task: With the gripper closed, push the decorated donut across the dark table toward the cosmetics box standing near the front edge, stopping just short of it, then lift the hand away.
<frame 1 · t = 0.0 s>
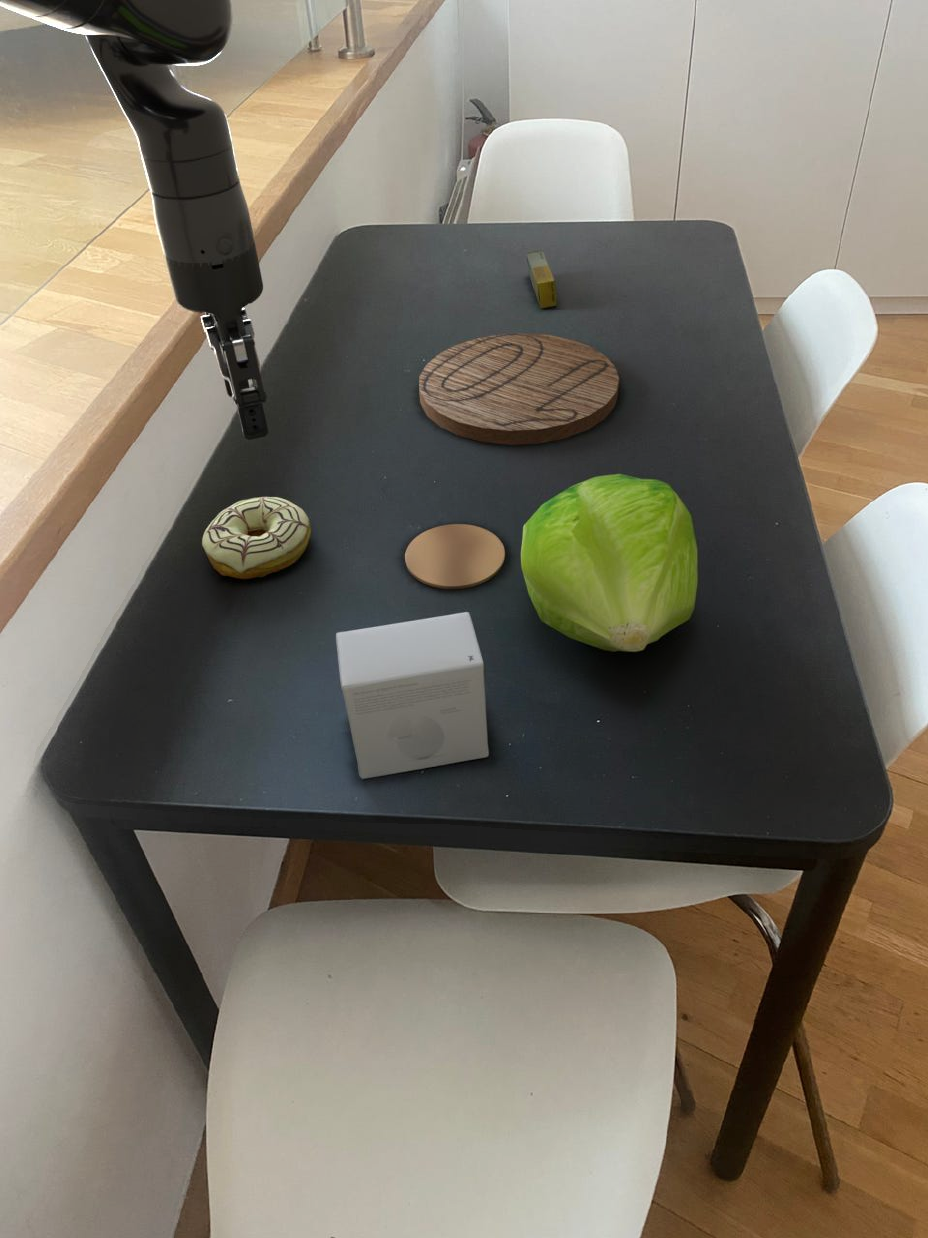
hand: (247, 414, 87), 14 cm above the table, tool pointing down, fingers open, 8 cm apart
decorated donut: (260, 552, 94), on the table
cosmetics box: (419, 740, 75), on the table
medication box: (541, 294, 138), on the table
cork coaster: (455, 556, 92), on the table
trivet: (518, 393, 116), on the table
lettuce: (604, 627, 84), on the table
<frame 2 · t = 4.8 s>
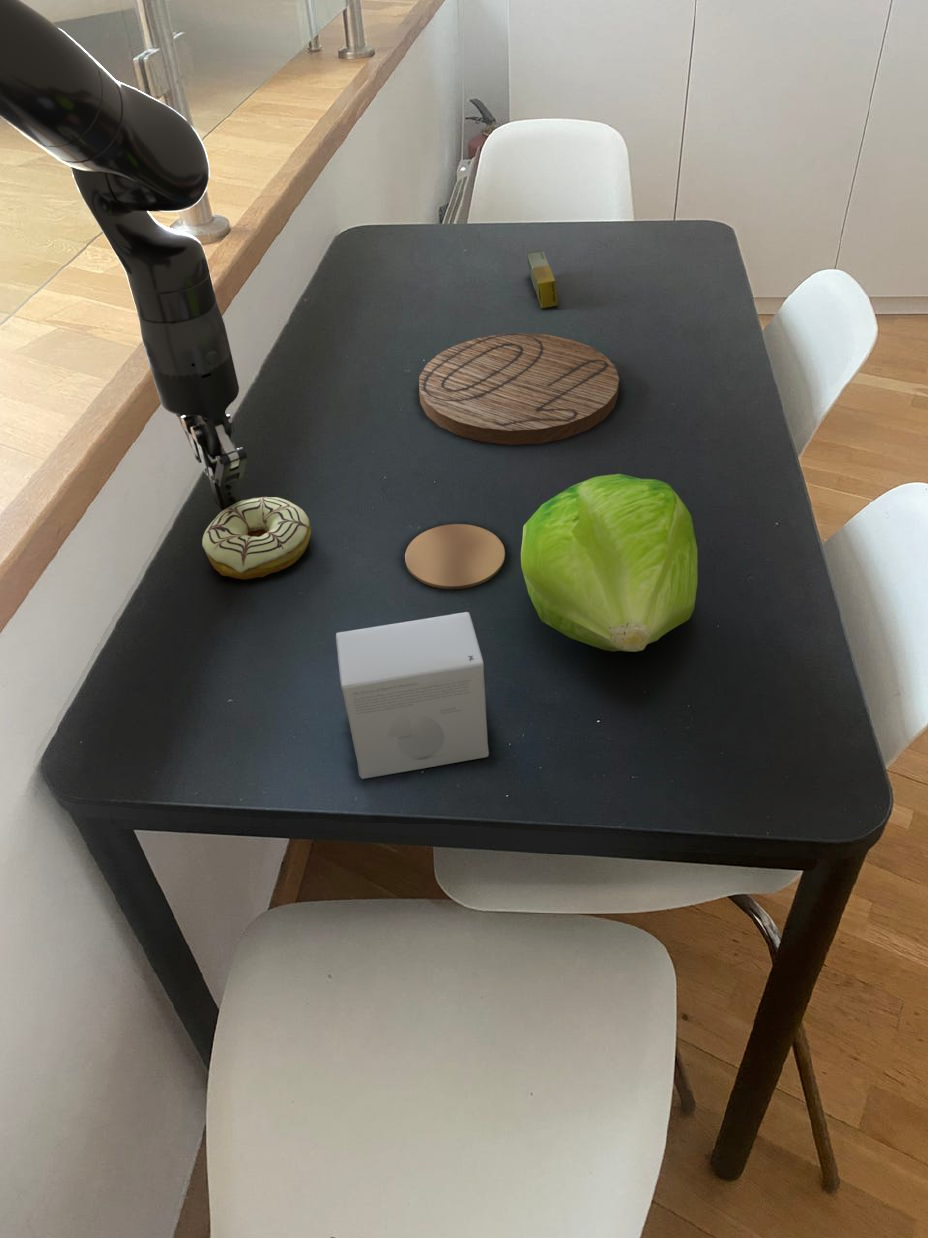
hand: (228, 505, 97), 2 cm above the table, tool pointing down, fingers closed
decorated donut: (260, 552, 94), on the table, touching gripper
everything else where it was.
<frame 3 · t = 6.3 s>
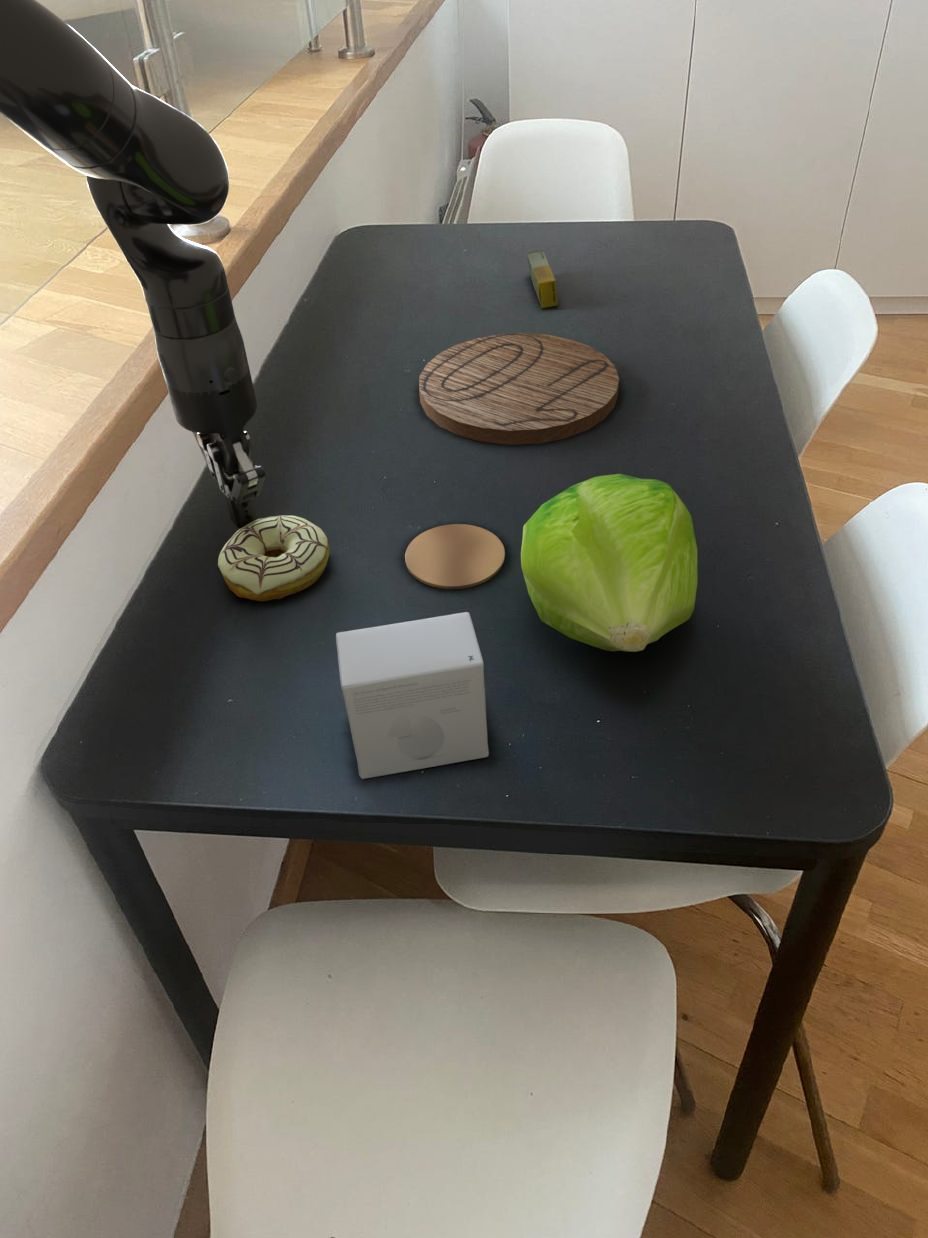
hand: (244, 522, 95), 2 cm above the table, tool pointing down, fingers closed
decorated donut: (277, 573, 92), on the table, touching gripper
everything else where it was.
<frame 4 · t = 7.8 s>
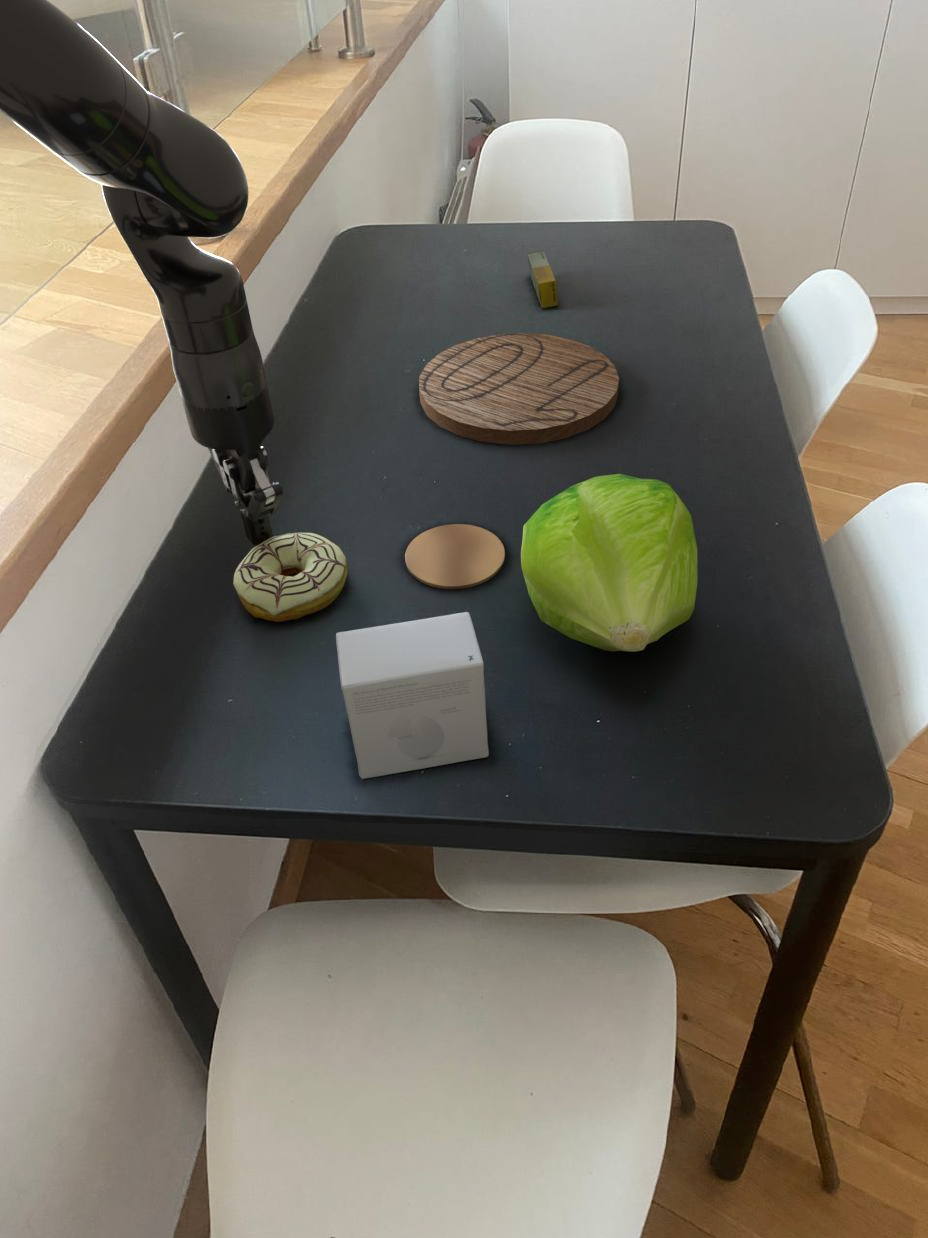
hand: (260, 539, 92), 2 cm above the table, tool pointing down, fingers closed
decorated donut: (294, 592, 90), on the table, touching gripper
everything else where it was.
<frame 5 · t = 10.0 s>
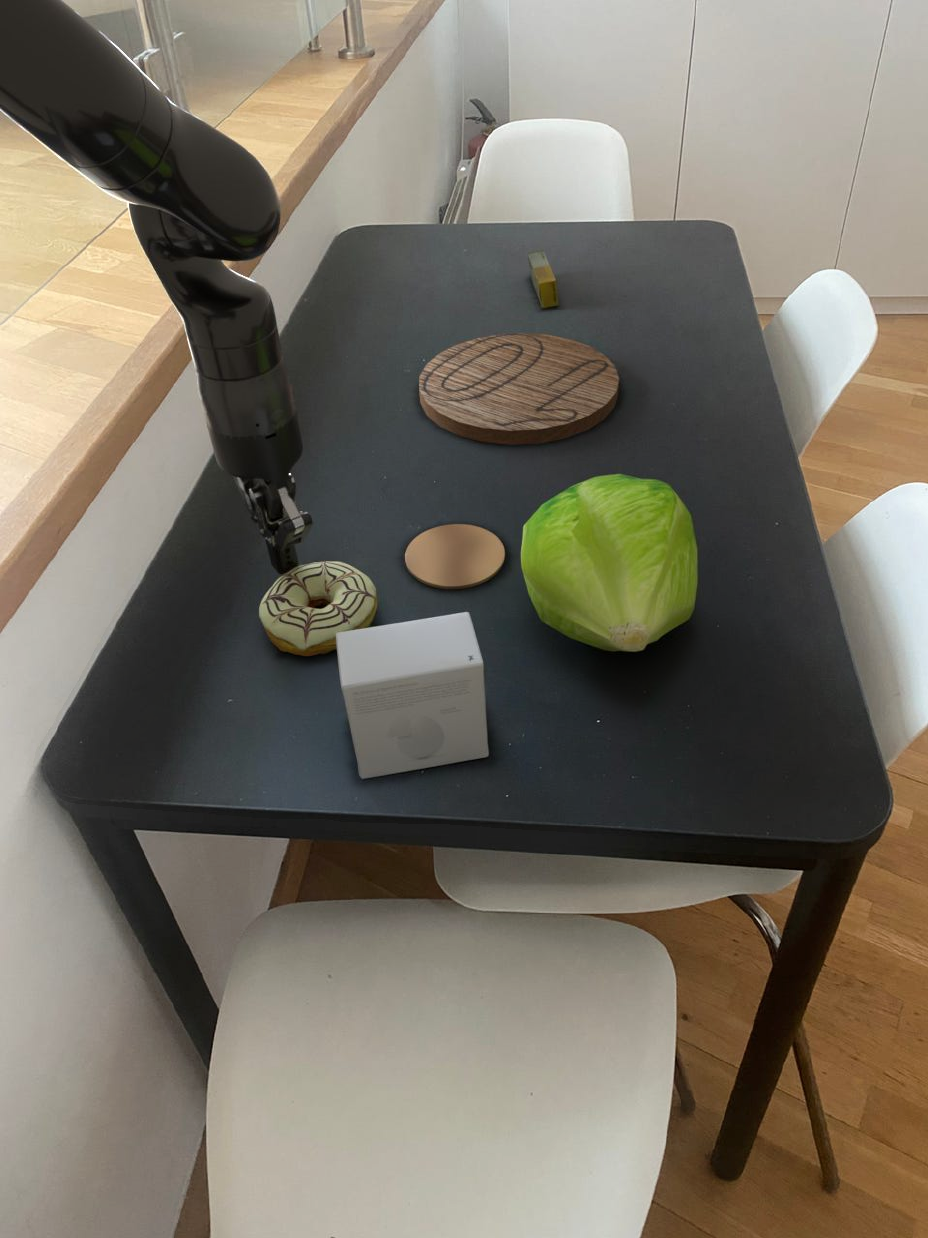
hand: (285, 567, 89), 2 cm above the table, tool pointing down, fingers closed
decorated donut: (321, 623, 86), on the table, touching gripper
everything else where it was.
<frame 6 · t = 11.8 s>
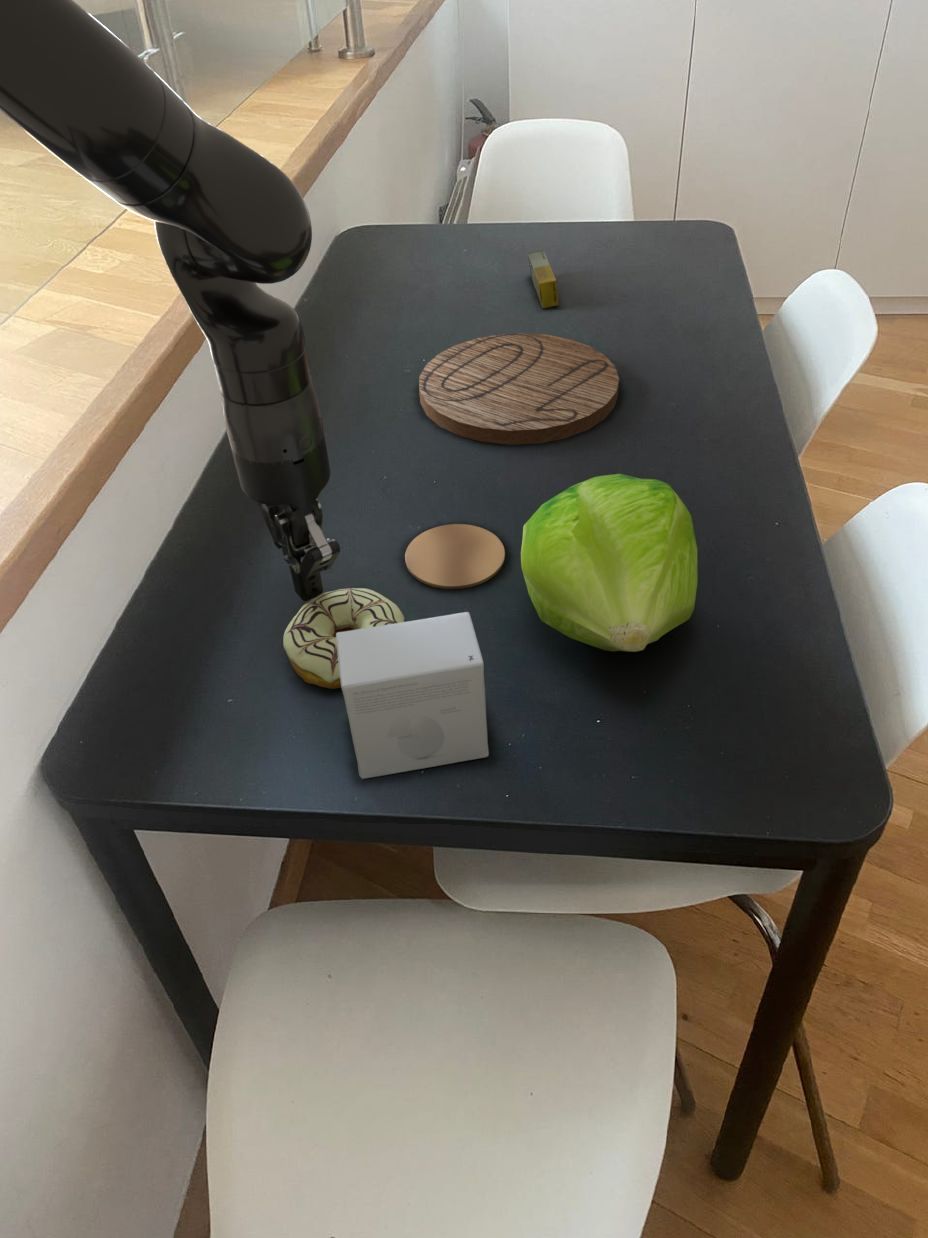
hand: (309, 594, 86), 2 cm above the table, tool pointing down, fingers closed
decorated donut: (347, 653, 83), on the table, touching gripper
everything else where it was.
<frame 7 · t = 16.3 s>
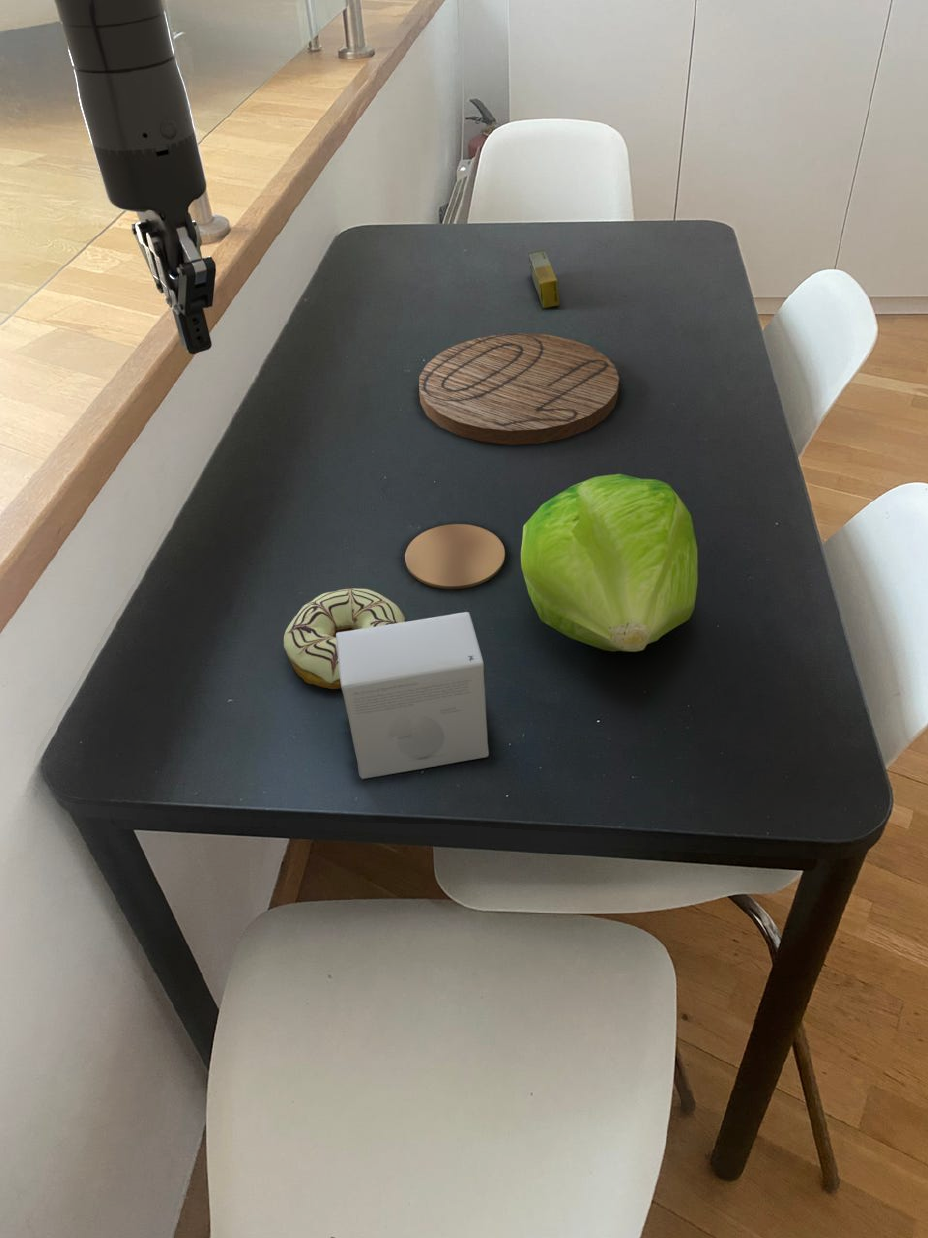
hand: (197, 348, 80), 22 cm above the table, tool pointing down, fingers closed
decorated donut: (348, 653, 83), on the table
everything else where it was.
at the end: decorated donut 12.4 cm from the cosmetics box (horizontally); decorated donut moved 18.4 cm from its start; cosmetics box moved 0.2 cm from its start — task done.
